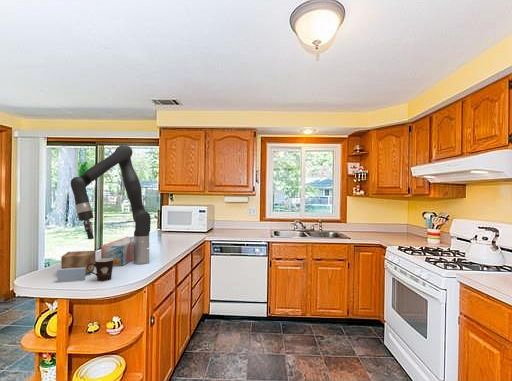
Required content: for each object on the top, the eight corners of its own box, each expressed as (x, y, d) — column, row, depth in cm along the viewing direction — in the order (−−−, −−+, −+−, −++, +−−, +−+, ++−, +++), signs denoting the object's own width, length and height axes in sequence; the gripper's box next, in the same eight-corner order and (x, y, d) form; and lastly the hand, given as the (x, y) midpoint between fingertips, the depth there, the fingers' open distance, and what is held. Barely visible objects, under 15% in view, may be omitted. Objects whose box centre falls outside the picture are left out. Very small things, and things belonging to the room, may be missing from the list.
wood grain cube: (95, 265, 184) (95, 250, 184) (90, 271, 171) (90, 255, 171) (68, 267, 180) (68, 251, 180) (61, 273, 166) (61, 256, 167)
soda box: (123, 266, 190) (123, 245, 190) (100, 266, 190) (100, 245, 190) (145, 253, 231) (145, 235, 231) (126, 253, 230) (126, 235, 230)
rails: (91, 268, 184) (91, 265, 184) (83, 279, 162) (83, 276, 162) (72, 269, 181) (72, 266, 181) (61, 280, 159) (61, 277, 159)
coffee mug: (116, 277, 167) (116, 258, 167) (109, 281, 158) (109, 261, 158) (93, 277, 166) (94, 258, 166) (85, 281, 158) (85, 261, 158)
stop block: (85, 278, 163) (85, 267, 163) (84, 280, 160) (84, 268, 160) (58, 280, 159) (58, 268, 159) (57, 282, 157) (57, 270, 157)
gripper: (90, 208, 175) (97, 237, 175) (92, 210, 188) (99, 237, 188) (75, 212, 172) (82, 240, 172) (78, 214, 185) (85, 240, 185)
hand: (91, 238), depth 180 cm, fingers open, 8 cm apart
